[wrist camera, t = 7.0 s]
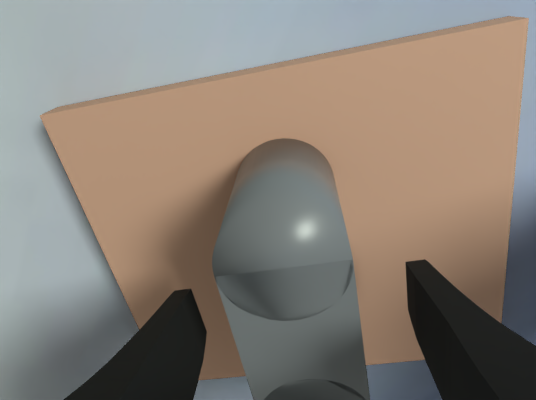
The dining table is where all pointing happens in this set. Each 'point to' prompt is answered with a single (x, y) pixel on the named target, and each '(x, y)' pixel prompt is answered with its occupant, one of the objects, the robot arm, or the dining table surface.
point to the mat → (339, 157)
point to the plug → (290, 277)
